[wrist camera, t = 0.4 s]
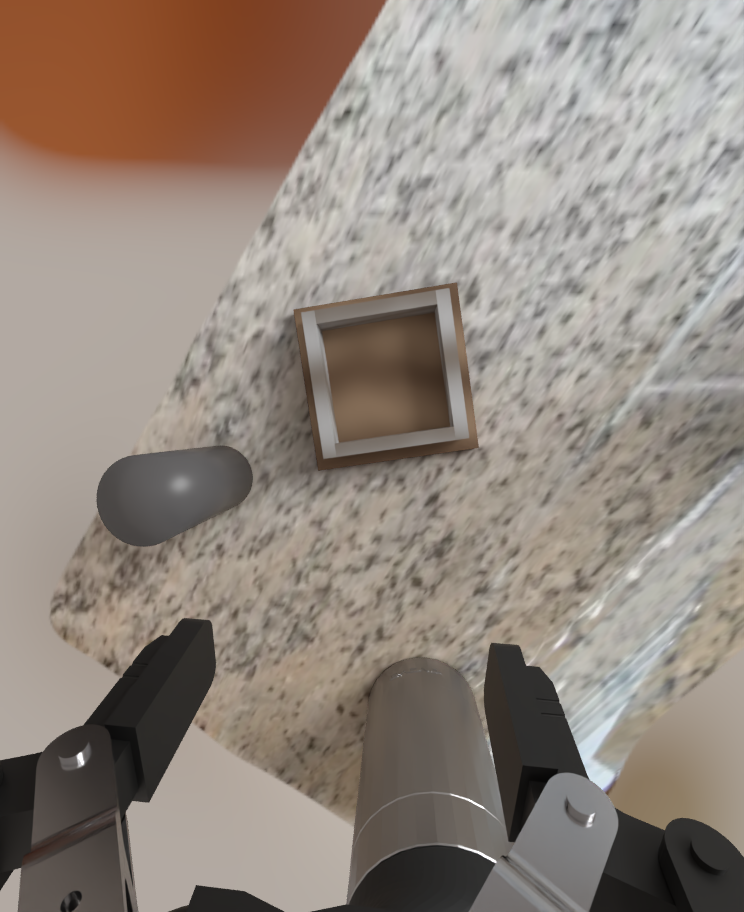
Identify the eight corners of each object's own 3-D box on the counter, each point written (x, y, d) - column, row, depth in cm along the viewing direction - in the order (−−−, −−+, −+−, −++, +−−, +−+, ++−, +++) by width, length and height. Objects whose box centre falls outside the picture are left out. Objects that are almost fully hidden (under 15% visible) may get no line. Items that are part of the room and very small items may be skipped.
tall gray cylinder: (257, 504, 38) (193, 540, 26) (195, 512, 39) (105, 551, 27) (247, 441, 38) (177, 448, 26) (185, 450, 38) (89, 461, 26)
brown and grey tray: (476, 447, 37) (484, 449, 33) (320, 469, 38) (312, 473, 34) (455, 286, 36) (461, 271, 33) (296, 312, 37) (285, 301, 34)
